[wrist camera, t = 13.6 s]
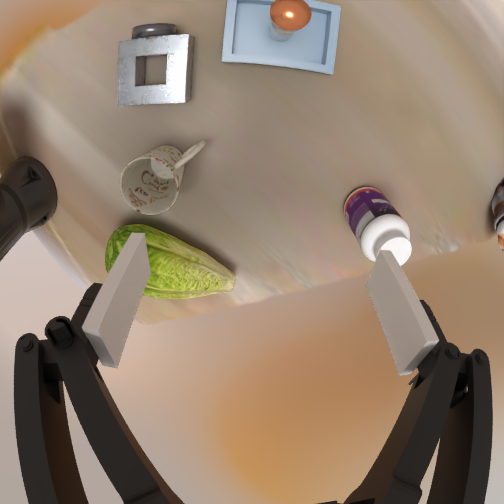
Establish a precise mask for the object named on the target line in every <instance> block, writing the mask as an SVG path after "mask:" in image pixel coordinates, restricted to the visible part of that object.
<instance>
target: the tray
mask: <svg viewBox="0 0 504 504" xmlns="http://www.w3.org/2000/svg"><path fill="white" fill-rule="evenodd" d="M274 1H275V0H228V1H227V10H226V20H225V30H224V40H223V52H222V62H230V63H248V64H260V65H270V66H279V67H287V68H294V69H301V70H307V71H313V72H318V73H324V74H331V75H333V70H334V63H335V55H336V47H337V39H338V30H339V20H340V10H341V7H340V6H336V5H332V4H328V3H323V2H318V1H313V0H304V1H305V2H306V3H307V4H308V5H309V7H310V9H311V12H312V16H311V20H310V22H309V23H308V24H307V25H306V26H305V27H304V28H302V29H300V30H297V31H295V32H294V34H293V35H292V36H291V37H290V38H289V39H288V40H286V41H283V42H278V41H275V40H273V39H272V38H271V37H270V35H269V27H270V23H271V19H270V8H271V5H272V3H273V2H274Z"/></svg>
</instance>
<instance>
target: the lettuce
mask: <svg viewBox="0 0 504 504" xmlns="http://www.w3.org/2000/svg"><path fill="white" fill-rule="evenodd" d="M131 233H145V239H146V246H147V252H148V258H149V264H150V270H151V274H150V276H149V279H148V281H147V284H146V287H145V289H144V292H143V294H142V295H146V296H151V297H156V298H166V299H186V298H195V297H201V296H206V295H210V294H218V293H228V292H230V291H231V290H232V289H233V287H234V285H235V280H236V276H235V274H234V273H232V272H231V271H230V270H228V269H227V268H225V267H224V266H223V265H221V264H220V263H219V262H217V261H216V260H215V259H213V258H212V257H211V256H209V255H208V254H206V253H205V252H203V251H201V250H199V249H197V248H195V247H192V246H190V245H188V244H187V243H185V242H183V241H181V240H180V239H178V238H176V237H174V236H172V235H169V234H167V233H165V232H162V231H160V230H158V229H155V228H153V227H150V226H147V225H144V224H134V225H124V226H122V227H120V228H118V229H117V230H115V231H114V233H113V234H112V235H111V237H110V239H109V241H108V245H107V249H106V254H105V263H106V270H107V272H108V274H109V272H110V270H111V268H112V266H113V264H114V263H115V261H116V259H117V257H118V255H119V254H120V252H121V250H122V248H123V247H124V245H125V243H126V242H127V240H128V238H129V237H130V235H131Z"/></svg>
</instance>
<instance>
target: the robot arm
mask: <svg viewBox="0 0 504 504" xmlns="http://www.w3.org/2000/svg"><path fill="white" fill-rule="evenodd" d="M56 205H57V193H56V188H55V184H54V182H53V179H52V177H51V175H50V173H49V172H48V170H47V169H46V168H45V167H44V166H43V165H42V164H41V163H40V162H39V161H37V160H36V159H34V158H31V157H22V158H19V159H18V160H16V161H15V162H13V163H12V164H10V165H9V166H8V168H7V169H6V170H5V172H4V173H3V175H2V176H1V178H0V261H1V260H2V259H3V257H4V256H5V255H6V254H7V253H8V251H9V250H10V249H11V248H12V247H13V246H14V244H15V243H16V242H17V241H18V240H19V239H20V238H21V236H22V235H23V234H24V233H26V232H29V231H31V230H33V229H36V228H38V227H40V226H42V225H44V224H45V223H46V222H47V221H48V220H49V219H50V218H51V217H52V216H53V214H54V212H55V209H56ZM150 274H151V270H150V264H149V258H148V252H147V246H146V239H145V233H131V235H130V237H129V238H128V240H127V242H126V243H125V245H124V247H123V248H122V250H121V252H120V254H119V255H118V257H117V259H116V261H115V263H114V264H113V266H112V268H111V270H110V272H109V274H108V275H107V277H106V279H105V281H104V283H103V284H100V283H94V284H93V285H91V286H90V287H89V288H88V289H87V291H86V292H85V294H84V296H83V299H82V300H81V302H80V304H79V306H78V307H77V309H76V311H75V314H74V315H73V317H72V319H71V321H70V319H69V318H67V317H65V316H58V317H55V318H53V319H52V320H50V321H49V322H48V324H47V325H46V327H45V335H46V337H47V338H48V339H47V340H39V339H38V338H37V336H36V335H35V334H32V333H27V334H24V335H23V336H21V337H20V338H19V340H18V341H17V344H16V349H15V364H14V410H15V412H14V413H15V426H16V438H17V446H18V454H19V460H20V466H21V472H22V477H23V482H24V486H25V490H26V495H27V498H28V502H29V504H88V500H87V498H86V495H85V491H84V488H83V485H82V482H81V478H80V475H79V471H78V467H77V463H76V459H75V455H74V451H73V446H72V441H71V437H70V431H69V426H68V420H67V413H66V406H65V399H64V390H63V381H64V384H65V386H66V389H67V392H68V394H69V397H70V400H71V402H72V405H73V407H74V410H75V412H76V414H77V416H78V419H79V421H80V424H81V425H82V428H83V430H84V432H85V434H86V436H87V438H88V441H89V443H90V445H91V447H92V449H93V451H94V452H95V454H96V456H97V458H98V460H99V462H100V464H101V465H102V467H103V469H104V471H105V472H106V474H107V476H108V477H109V479H110V481H111V482H112V484H113V485H114V487H115V489H116V490H117V492H118V493H119V495H120V496H121V498H122V500H123V502H124V504H184V503H183V502H182V500H181V499H180V498H179V497H178V496H177V495H176V494H175V493H174V492H173V491H172V490H171V488H170V487H169V486H168V485H167V483H166V482H165V481H164V479H163V478H162V477H161V476H160V474H159V473H158V471H157V470H156V469H155V467H154V466H153V464H152V463H151V461H150V460H149V459H148V457H147V456H146V454H145V453H144V451H143V450H142V448H141V446H140V445H139V443H138V442H137V440H136V439H135V437H134V435H133V434H132V432H131V431H130V429H129V427H128V425H127V424H126V422H125V420H124V418H123V417H122V415H121V413H120V412H119V410H118V408H117V406H116V404H115V402H114V400H113V398H112V396H111V394H110V393H109V390H108V388H107V386H106V384H105V382H104V380H103V378H102V376H101V374H100V372H99V370H98V368H97V366H96V365H97V362H98V359H99V360H100V362H101V363H102V365H104V366H108V367H113V368H118V365H119V362H120V358H121V355H122V352H123V349H124V346H125V343H126V340H127V337H128V334H129V331H130V328H131V325H132V322H133V319H134V316H135V314H136V311H137V308H138V305H139V303H140V300H141V297H142V294H143V292H144V289H145V287H146V284H147V281H148V279H149V276H150ZM366 288H367V290H368V293H369V295H370V298H371V300H372V302H373V305H374V308H375V310H376V313H377V315H378V317H379V320H380V323H381V326H382V328H383V331H384V333H385V336H386V339H387V342H388V344H389V347H390V350H391V353H392V356H393V359H394V362H395V365H396V368H397V371H398V374H399V375H407V374H411V373H412V372H413V371H414V370H415V368H418V371H419V373H418V374H417V375H416V376H415V377H414V378H413V379H412V380H411V381H410V383H409V385H411V384H412V383H413V385H412V388H411V390H410V392H409V395H408V397H407V399H406V402H405V404H404V406H403V408H402V411H401V413H400V415H399V417H398V419H397V421H396V424H395V425H394V427H393V430H392V431H391V433H390V435H389V437H388V439H387V441H386V443H385V445H384V447H383V448H382V450H381V452H380V454H379V456H378V458H377V459H376V461H375V462H374V464H373V466H372V468H371V469H370V471H369V472H368V474H367V476H366V478H365V479H364V480H363V482H362V483H361V485H360V486H359V487H358V488H357V489H356V490H354V491H353V492H352V493H351V494H350V495H349V497H348V498H347V499H346V501H345V502H344V503H343V504H418V503H419V500H420V498H421V496H422V490H421V488H420V484H421V481H422V479H423V477H424V475H425V473H426V470H427V468H428V466H429V464H430V461H431V459H432V456H433V454H434V451H435V449H436V446H437V444H438V441H439V438H440V443H439V449H438V455H437V461H436V466H435V471H434V476H433V480H432V485H431V489H430V493H429V496H428V500H427V504H484V501H485V496H486V489H487V484H488V477H489V469H490V461H491V448H492V426H493V425H492V424H493V423H492V422H493V410H492V388H491V387H492V386H491V375H490V364H489V359H488V356H487V355H486V353H485V352H484V351H483V350H481V349H475V350H473V351H472V353H471V354H465V353H460V351H459V349H458V347H457V346H455V345H454V344H452V343H448V342H447V340H446V339H445V336H444V334H443V332H442V330H441V328H440V326H439V324H438V322H436V318H435V316H433V312H432V311H431V309H430V307H429V306H428V305H427V304H426V302H424V300H419V299H418V297H417V295H416V293H415V291H414V290H413V288H412V286H411V284H410V282H409V281H408V279H407V277H406V275H405V273H404V272H403V270H402V268H401V267H400V265H399V263H398V262H397V260H396V258H395V257H394V255H393V253H392V252H391V251H390V250H380V251H379V253H378V256H377V259H376V261H375V264H374V266H373V268H372V271H371V273H370V276H369V278H368V280H367V283H366ZM467 387H468V391H467ZM440 435H441V436H440ZM318 504H340V503H337V501H331V502H325V503H318Z"/></svg>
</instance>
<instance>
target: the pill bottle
mask: <svg viewBox="0 0 504 504" xmlns="http://www.w3.org/2000/svg"><path fill="white" fill-rule="evenodd" d="M344 215H345V218H346V220H347V222H348V224H349V226H350V227H351V229H352V231H353V233H354V235H355V237H356V239H357V241H358V243H359V245H360V247H361V249H362V251H363V253H364V254H365V256H366V257H367V258H369V259H370V260H372V261H376V259H377V256H378V253H379V251H380V250H390V251H391V252H392V253H393V255H394V257H395V258H396V260H397V262H398V263H399V265H400V266H401V265H402V264H404V263H405V262H406V261H407V260H408V258H409V256H410V254H411V250H412V247H411V243H410V241H409V238H410V231H409V227H408V225H407V223H406V222H405V221H404V219H403V218H402V217H401V216H400V214H399V213H398V212H397V211H396V210H395V208H394V207H393V206H392V205H391V204H390V202H389V201H388V200H387V199H386V198H385V197H384V195H383V194H382V193H381V192H380V191H379V190H377V189H375V188H372V187H362V188H359V189H357V190H355V191H354V192H352V193H351V194H350V195H349V197H348V198H347V200H346V202H345V205H344Z"/></svg>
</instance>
